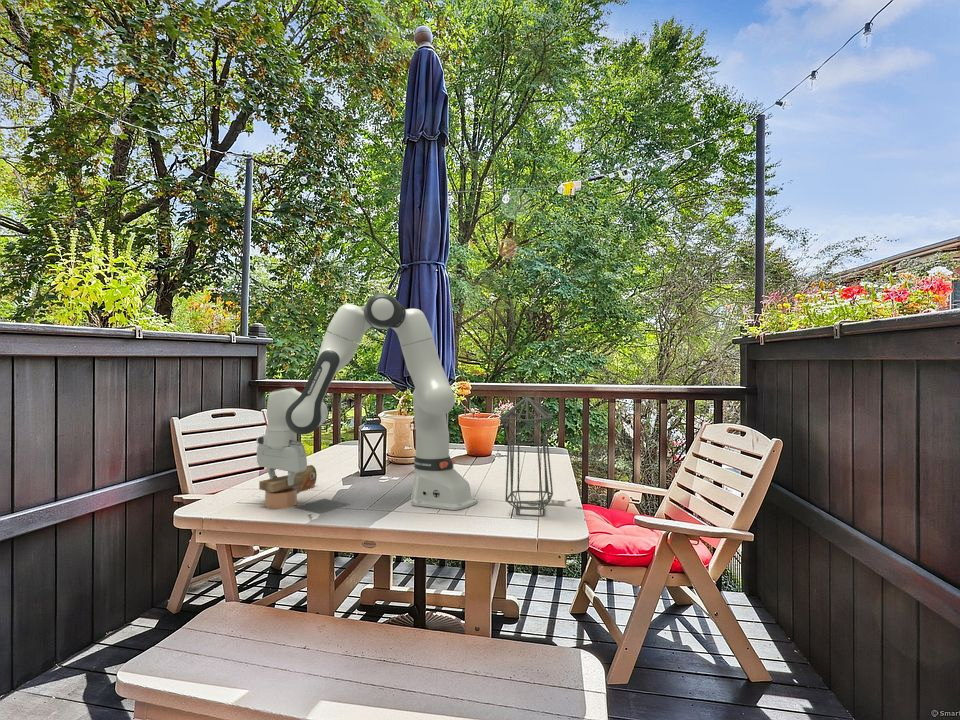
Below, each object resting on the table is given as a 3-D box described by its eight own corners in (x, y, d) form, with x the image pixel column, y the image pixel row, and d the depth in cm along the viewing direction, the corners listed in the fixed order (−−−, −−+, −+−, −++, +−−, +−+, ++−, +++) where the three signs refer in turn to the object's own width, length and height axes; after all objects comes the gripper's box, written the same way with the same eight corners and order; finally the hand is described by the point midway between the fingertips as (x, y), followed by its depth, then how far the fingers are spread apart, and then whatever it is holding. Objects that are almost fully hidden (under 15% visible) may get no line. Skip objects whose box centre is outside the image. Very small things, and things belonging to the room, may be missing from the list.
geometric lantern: (553, 522, 142) (551, 399, 142) (499, 519, 145) (496, 399, 145) (557, 506, 157) (555, 395, 157) (508, 503, 160) (505, 395, 160)
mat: (350, 505, 156) (350, 504, 156) (320, 515, 146) (320, 513, 146) (324, 500, 163) (324, 498, 163) (293, 509, 153) (293, 507, 153)
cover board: (302, 484, 159) (302, 476, 159) (272, 492, 149) (272, 483, 149) (289, 482, 162) (289, 474, 162) (259, 489, 153) (259, 481, 153)
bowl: (302, 504, 157) (302, 488, 157) (277, 511, 150) (277, 495, 150) (284, 500, 162) (284, 485, 162) (259, 507, 154) (259, 491, 154)
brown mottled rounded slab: (294, 496, 167) (294, 471, 167) (285, 496, 168) (285, 471, 168) (317, 486, 182) (317, 463, 182) (309, 485, 182) (309, 462, 182)
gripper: (312, 440, 153) (311, 485, 153) (270, 435, 164) (270, 477, 164) (295, 443, 148) (294, 490, 148) (253, 438, 159) (252, 481, 158)
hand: (281, 483), depth 156 cm, fingers closed on cover board, 6 cm apart
